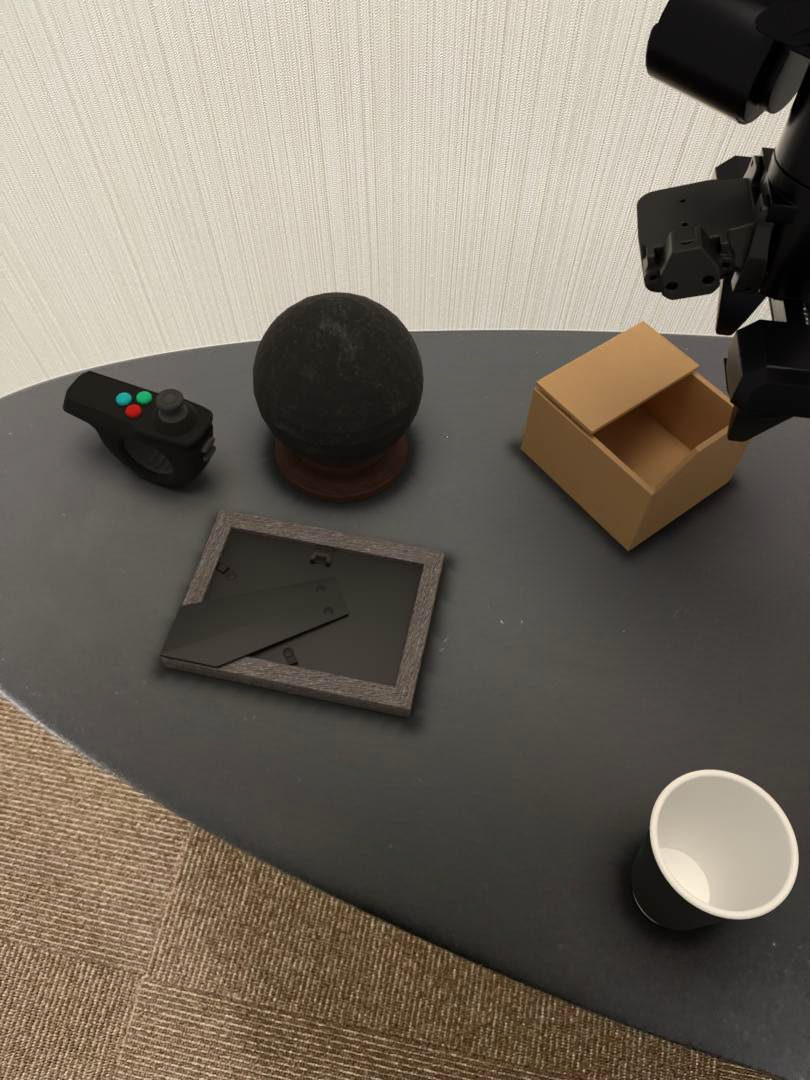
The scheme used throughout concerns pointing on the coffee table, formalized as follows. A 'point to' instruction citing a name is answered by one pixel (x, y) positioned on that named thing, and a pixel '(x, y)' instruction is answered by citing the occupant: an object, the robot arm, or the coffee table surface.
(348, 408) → the black ball on stand
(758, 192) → the robot arm
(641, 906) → the dixie cup
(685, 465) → the flap
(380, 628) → the picture frame
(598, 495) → the carton
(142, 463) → the controller
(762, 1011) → the coffee table surface
